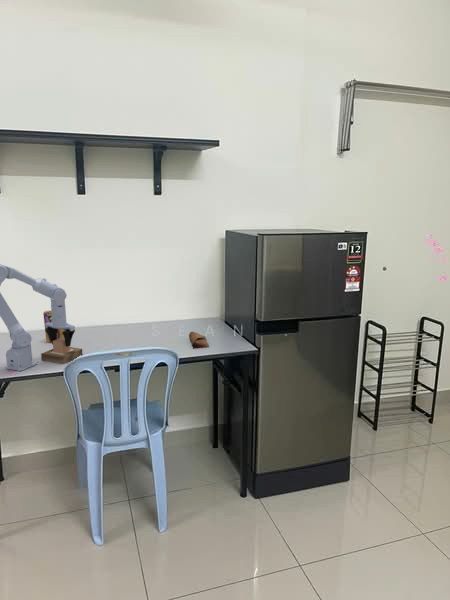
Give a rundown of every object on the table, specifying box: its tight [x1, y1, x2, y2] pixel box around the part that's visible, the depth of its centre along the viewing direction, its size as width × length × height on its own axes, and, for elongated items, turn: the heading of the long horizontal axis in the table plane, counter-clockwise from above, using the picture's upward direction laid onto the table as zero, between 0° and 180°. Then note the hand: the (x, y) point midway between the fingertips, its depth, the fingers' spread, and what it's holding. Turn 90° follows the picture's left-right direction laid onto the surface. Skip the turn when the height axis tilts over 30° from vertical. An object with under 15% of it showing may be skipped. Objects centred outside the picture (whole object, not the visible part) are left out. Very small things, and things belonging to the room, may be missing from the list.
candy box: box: [43, 310, 66, 344], centre depth 217 cm, size 9×4×15 cm, turn 96°
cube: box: [52, 338, 71, 354], centre depth 194 cm, size 5×5×5 cm
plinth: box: [40, 346, 84, 365], centre depth 195 cm, size 12×12×3 cm
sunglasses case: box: [188, 331, 210, 350], centre depth 216 cm, size 18×7×7 cm
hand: (61, 344), depth 194 cm, fingers open, 7 cm apart
